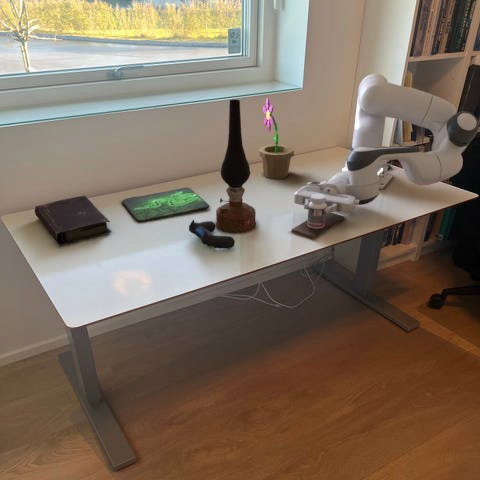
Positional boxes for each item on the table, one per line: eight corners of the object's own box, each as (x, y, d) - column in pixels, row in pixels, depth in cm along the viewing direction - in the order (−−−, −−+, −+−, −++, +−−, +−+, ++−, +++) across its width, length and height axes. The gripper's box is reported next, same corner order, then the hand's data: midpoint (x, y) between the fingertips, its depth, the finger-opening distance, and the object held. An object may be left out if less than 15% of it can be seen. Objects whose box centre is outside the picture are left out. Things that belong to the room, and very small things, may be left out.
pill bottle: (325, 229, 163) (328, 199, 157) (308, 229, 163) (310, 200, 157) (323, 221, 168) (326, 192, 162) (306, 221, 168) (308, 193, 162)
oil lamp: (259, 229, 175) (283, 106, 157) (246, 240, 162) (270, 107, 144) (222, 219, 178) (242, 97, 160) (206, 229, 165) (225, 97, 147)
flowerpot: (253, 170, 215) (254, 95, 198) (285, 167, 218) (288, 92, 201) (265, 182, 204) (267, 102, 186) (298, 178, 207) (303, 100, 190)
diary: (57, 247, 157) (53, 232, 154) (36, 219, 174) (33, 205, 171) (114, 233, 165) (112, 219, 162) (89, 208, 182) (86, 194, 179)
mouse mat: (137, 222, 171) (137, 220, 171) (120, 200, 187) (120, 198, 187) (211, 208, 181) (211, 205, 180) (189, 188, 197) (188, 186, 197)
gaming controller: (206, 237, 168) (182, 228, 162) (214, 221, 166) (189, 211, 160) (230, 257, 156) (205, 248, 150) (239, 240, 154) (213, 231, 148)
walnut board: (323, 213, 178) (323, 210, 177) (344, 219, 174) (344, 216, 173) (291, 232, 165) (291, 229, 165) (313, 239, 161) (313, 236, 160)
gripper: (360, 209, 169) (346, 224, 159) (303, 198, 177) (287, 212, 167) (362, 190, 165) (348, 205, 155) (304, 180, 173) (287, 194, 164)
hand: (316, 209), depth 161 cm, fingers closed on pill bottle, 6 cm apart
